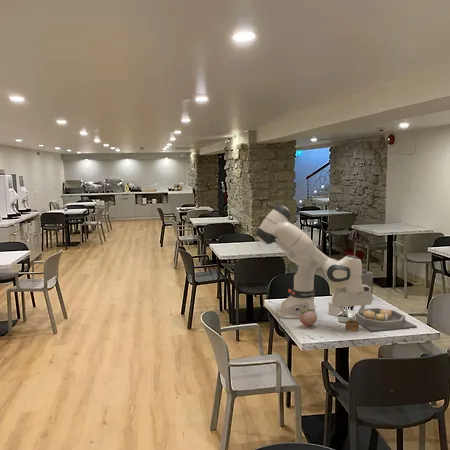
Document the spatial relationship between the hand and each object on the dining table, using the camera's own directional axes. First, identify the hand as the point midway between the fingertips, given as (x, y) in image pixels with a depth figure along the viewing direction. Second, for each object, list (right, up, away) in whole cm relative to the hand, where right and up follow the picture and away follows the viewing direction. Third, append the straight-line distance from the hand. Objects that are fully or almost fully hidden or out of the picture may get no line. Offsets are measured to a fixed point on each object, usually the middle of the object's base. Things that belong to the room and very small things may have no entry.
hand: (352, 313), depth 230 cm
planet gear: (0, -8, +1) cm, 8 cm away
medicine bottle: (-1, -6, +26) cm, 27 cm away
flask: (+22, -2, +53) cm, 58 cm away
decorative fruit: (-21, -8, +6) cm, 23 cm away
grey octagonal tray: (+18, -7, +12) cm, 23 cm away
